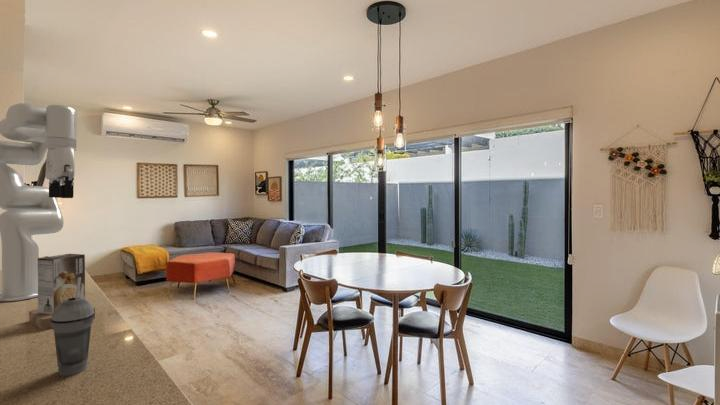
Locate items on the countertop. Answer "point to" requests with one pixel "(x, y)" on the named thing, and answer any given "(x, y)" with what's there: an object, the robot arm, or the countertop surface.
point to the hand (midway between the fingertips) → (60, 197)
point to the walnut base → (42, 319)
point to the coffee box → (59, 280)
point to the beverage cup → (72, 333)
